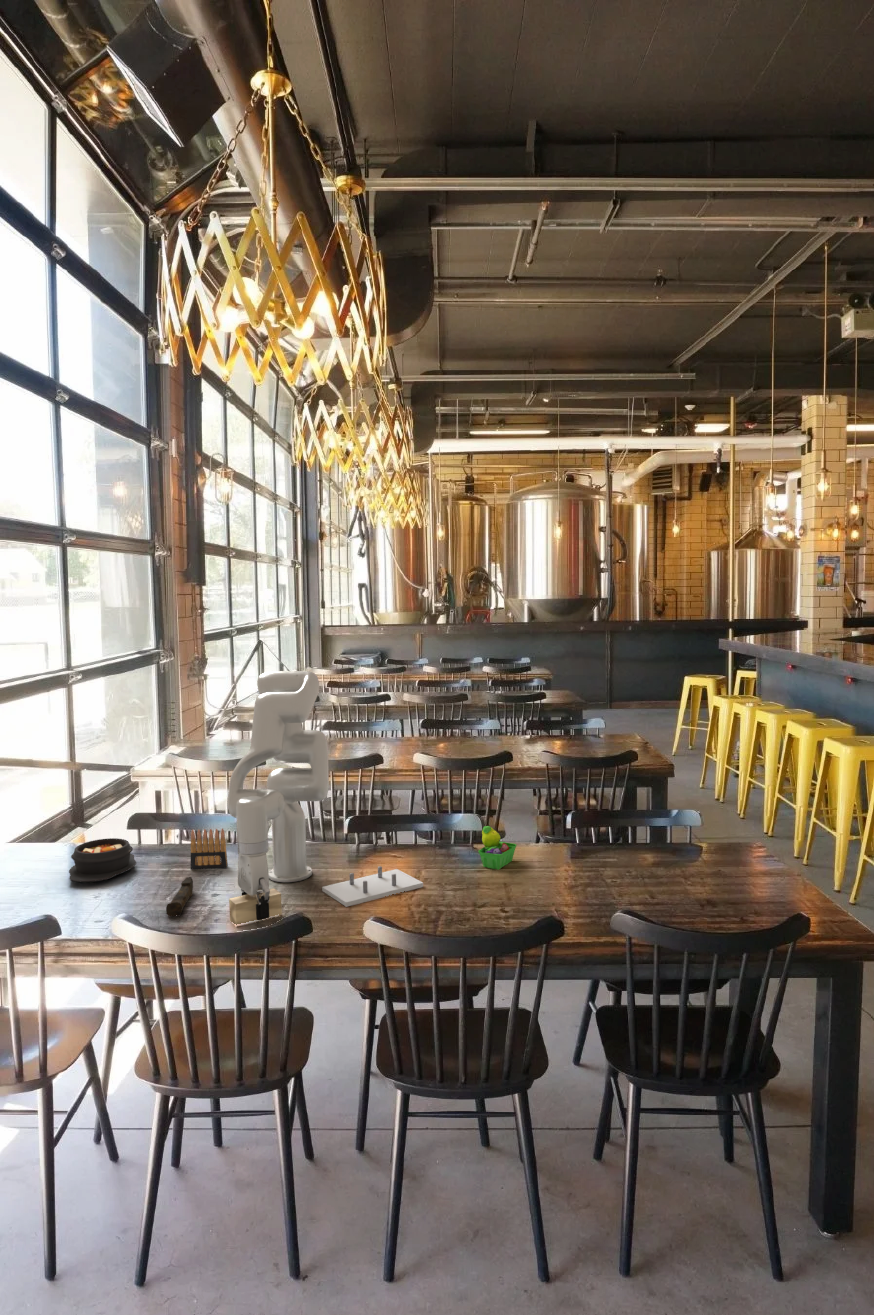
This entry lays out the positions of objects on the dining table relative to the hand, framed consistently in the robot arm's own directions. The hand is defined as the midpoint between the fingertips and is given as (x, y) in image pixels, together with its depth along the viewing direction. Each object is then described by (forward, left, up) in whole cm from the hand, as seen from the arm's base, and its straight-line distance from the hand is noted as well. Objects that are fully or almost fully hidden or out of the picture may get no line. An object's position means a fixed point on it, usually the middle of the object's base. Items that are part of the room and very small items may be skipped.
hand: (255, 912), depth 205 cm
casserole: (-60, -24, -2) cm, 65 cm away
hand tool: (-22, -12, -2) cm, 25 cm away
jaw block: (0, 0, -2) cm, 2 cm away
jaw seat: (0, +34, -2) cm, 34 cm away
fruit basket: (+4, +74, -2) cm, 74 cm away
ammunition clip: (-45, +3, -2) cm, 45 cm away
